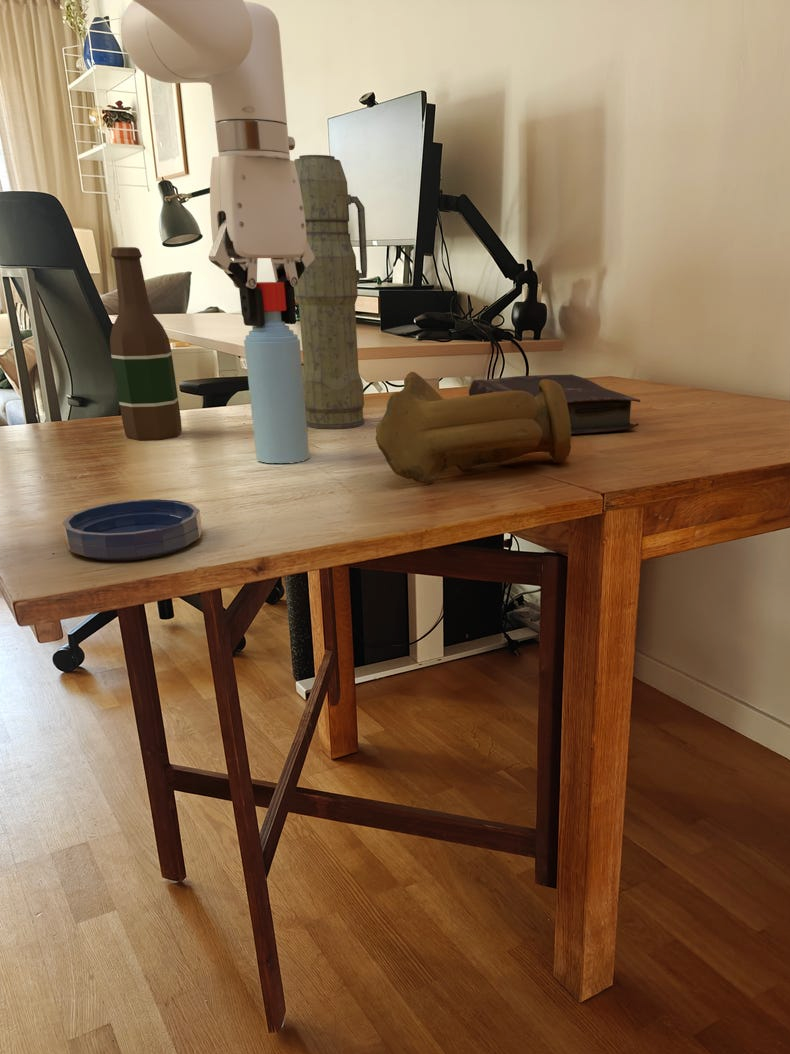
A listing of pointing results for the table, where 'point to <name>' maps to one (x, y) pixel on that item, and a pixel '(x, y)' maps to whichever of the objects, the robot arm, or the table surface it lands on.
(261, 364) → the bottle
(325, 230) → the thermos
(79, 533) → the dish
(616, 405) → the diary
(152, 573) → the table surface
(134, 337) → the beer bottle
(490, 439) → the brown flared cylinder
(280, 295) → the cap
